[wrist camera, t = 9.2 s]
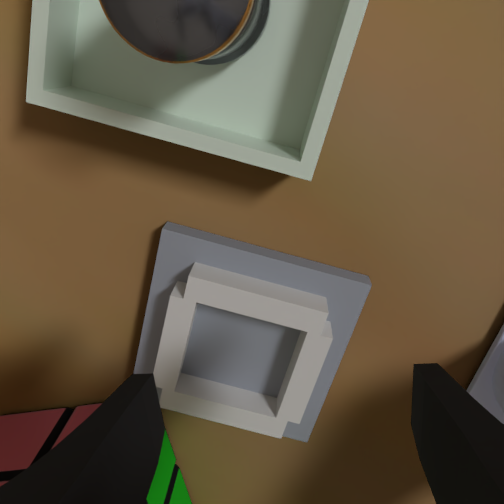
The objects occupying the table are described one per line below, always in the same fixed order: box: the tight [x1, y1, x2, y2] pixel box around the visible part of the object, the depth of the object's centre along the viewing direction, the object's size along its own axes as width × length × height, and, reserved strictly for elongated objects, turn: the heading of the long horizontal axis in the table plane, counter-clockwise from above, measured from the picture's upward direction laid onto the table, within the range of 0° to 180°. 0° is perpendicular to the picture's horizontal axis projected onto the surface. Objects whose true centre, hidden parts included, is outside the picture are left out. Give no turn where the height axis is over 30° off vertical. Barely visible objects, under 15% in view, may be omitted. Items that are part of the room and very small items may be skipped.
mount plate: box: [133, 221, 372, 442], centre depth 23 cm, size 10×10×2 cm
